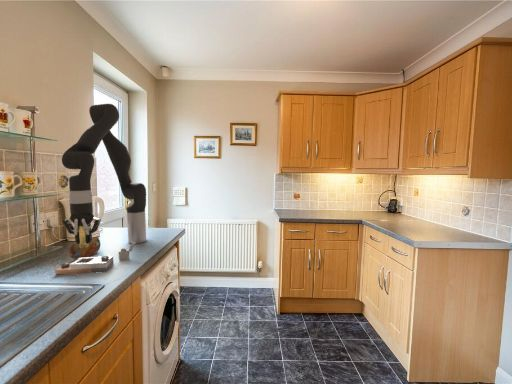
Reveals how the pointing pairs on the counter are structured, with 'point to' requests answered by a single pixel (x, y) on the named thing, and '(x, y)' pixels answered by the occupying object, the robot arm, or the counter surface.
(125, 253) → the lighter
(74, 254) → the tin
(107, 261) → the door latch
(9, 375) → the counter surface
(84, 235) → the pin
